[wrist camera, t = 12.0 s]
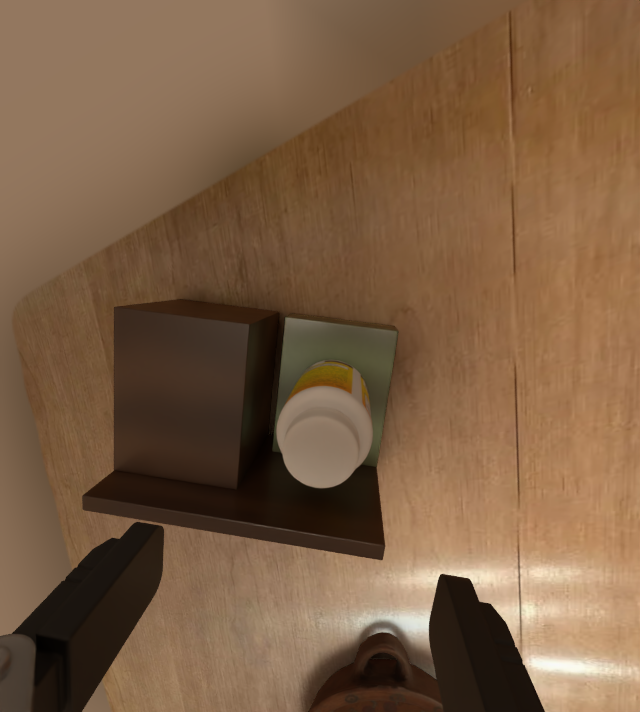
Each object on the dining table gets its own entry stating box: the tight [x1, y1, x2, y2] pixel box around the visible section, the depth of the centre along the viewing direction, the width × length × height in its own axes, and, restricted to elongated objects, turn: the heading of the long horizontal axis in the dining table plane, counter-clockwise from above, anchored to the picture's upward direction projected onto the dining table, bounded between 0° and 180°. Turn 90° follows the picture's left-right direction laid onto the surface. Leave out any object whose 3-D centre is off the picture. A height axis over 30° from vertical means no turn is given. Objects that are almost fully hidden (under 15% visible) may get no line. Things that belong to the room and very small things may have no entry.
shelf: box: [82, 299, 398, 560], centre depth 27 cm, size 12×18×12 cm, turn 83°
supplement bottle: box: [276, 360, 373, 488], centre depth 24 cm, size 6×6×10 cm
